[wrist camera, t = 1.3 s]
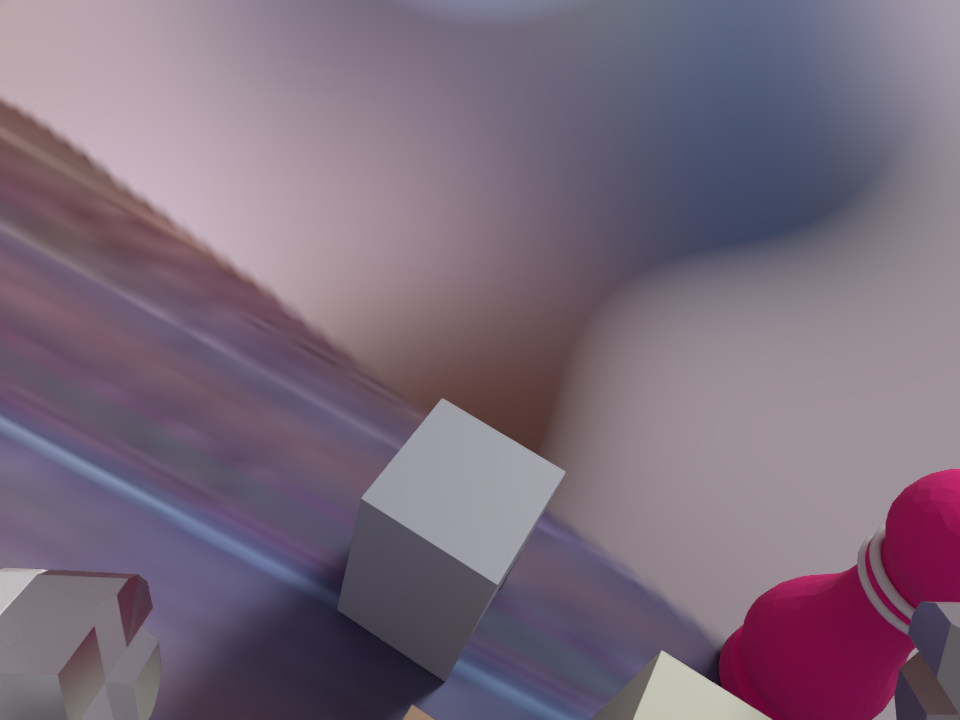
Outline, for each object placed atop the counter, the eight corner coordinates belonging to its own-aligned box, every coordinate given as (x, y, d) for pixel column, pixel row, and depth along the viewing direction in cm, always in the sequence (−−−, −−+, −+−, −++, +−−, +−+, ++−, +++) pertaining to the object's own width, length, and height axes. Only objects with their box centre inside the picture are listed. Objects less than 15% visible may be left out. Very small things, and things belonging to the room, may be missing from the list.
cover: (336, 609, 41) (360, 498, 33) (405, 517, 45) (442, 398, 37) (445, 682, 40) (497, 585, 32) (505, 580, 44) (565, 472, 36)
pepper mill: (681, 663, 44) (911, 456, 29) (763, 595, 47) (1004, 380, 32) (783, 788, 41) (1099, 629, 26) (862, 704, 44) (1178, 523, 29)
